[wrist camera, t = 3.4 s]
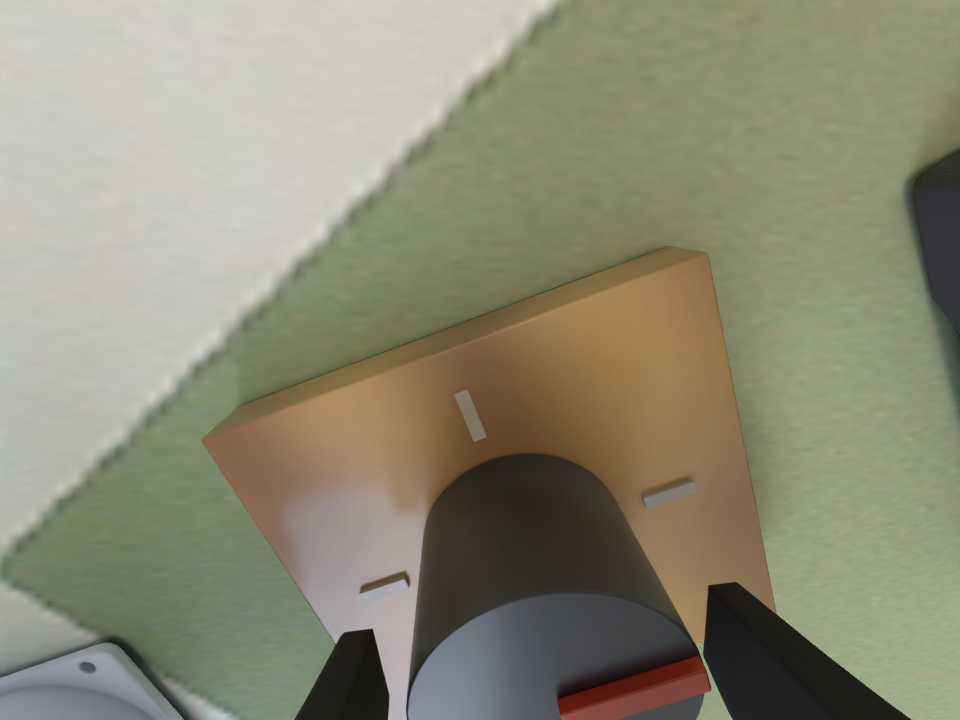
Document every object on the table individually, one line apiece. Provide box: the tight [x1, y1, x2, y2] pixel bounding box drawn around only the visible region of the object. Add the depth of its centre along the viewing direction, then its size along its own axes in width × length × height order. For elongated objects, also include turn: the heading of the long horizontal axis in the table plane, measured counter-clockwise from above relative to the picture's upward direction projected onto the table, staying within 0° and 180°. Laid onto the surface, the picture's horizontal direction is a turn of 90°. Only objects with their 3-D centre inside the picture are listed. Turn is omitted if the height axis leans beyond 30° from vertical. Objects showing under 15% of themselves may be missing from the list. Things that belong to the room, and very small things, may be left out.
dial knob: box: [406, 454, 711, 720], centre depth 10 cm, size 6×6×5 cm
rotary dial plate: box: [202, 247, 776, 720], centre depth 13 cm, size 13×12×2 cm
